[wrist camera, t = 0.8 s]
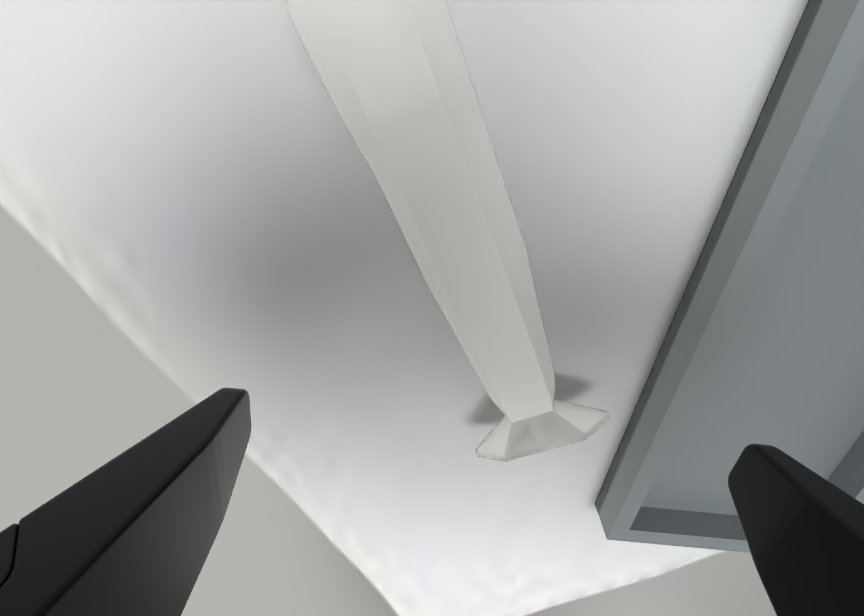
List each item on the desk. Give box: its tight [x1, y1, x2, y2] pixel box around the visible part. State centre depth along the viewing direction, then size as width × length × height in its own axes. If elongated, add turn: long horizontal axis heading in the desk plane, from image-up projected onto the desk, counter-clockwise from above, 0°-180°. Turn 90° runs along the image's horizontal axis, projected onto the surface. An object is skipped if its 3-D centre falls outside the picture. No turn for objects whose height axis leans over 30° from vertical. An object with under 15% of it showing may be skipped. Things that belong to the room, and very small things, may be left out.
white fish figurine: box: [287, 0, 609, 462], centre depth 16 cm, size 6×18×4 cm, turn 22°
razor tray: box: [595, 0, 864, 553], centre depth 19 cm, size 11×23×2 cm, turn 173°
